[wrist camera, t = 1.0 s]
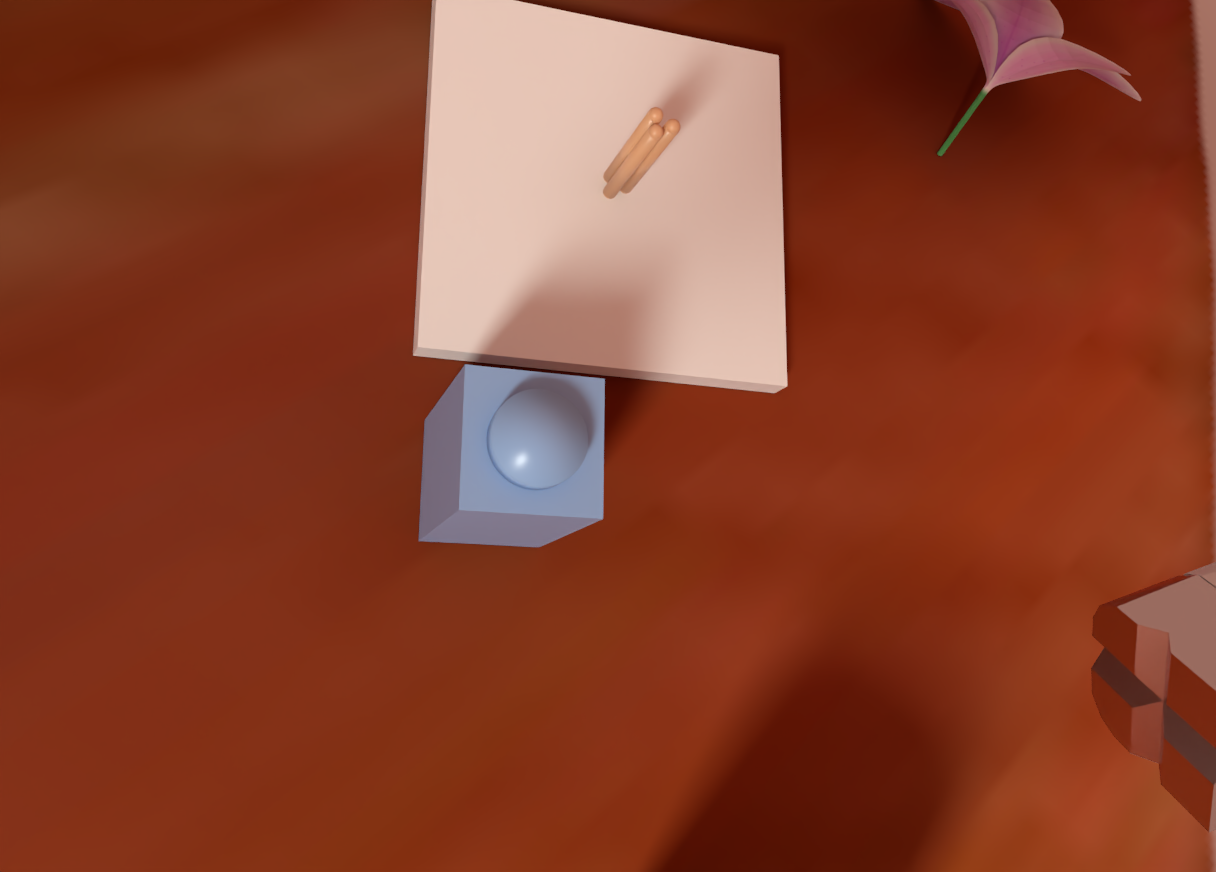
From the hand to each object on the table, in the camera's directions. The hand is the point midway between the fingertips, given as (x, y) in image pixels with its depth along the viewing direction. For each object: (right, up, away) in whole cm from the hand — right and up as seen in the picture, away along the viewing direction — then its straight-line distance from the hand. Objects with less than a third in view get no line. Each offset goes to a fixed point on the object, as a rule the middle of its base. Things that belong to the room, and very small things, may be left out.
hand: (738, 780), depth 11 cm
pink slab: (-1, +14, +37) cm, 39 cm away
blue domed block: (-6, +2, +32) cm, 33 cm away
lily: (+17, +21, +45) cm, 52 cm away
